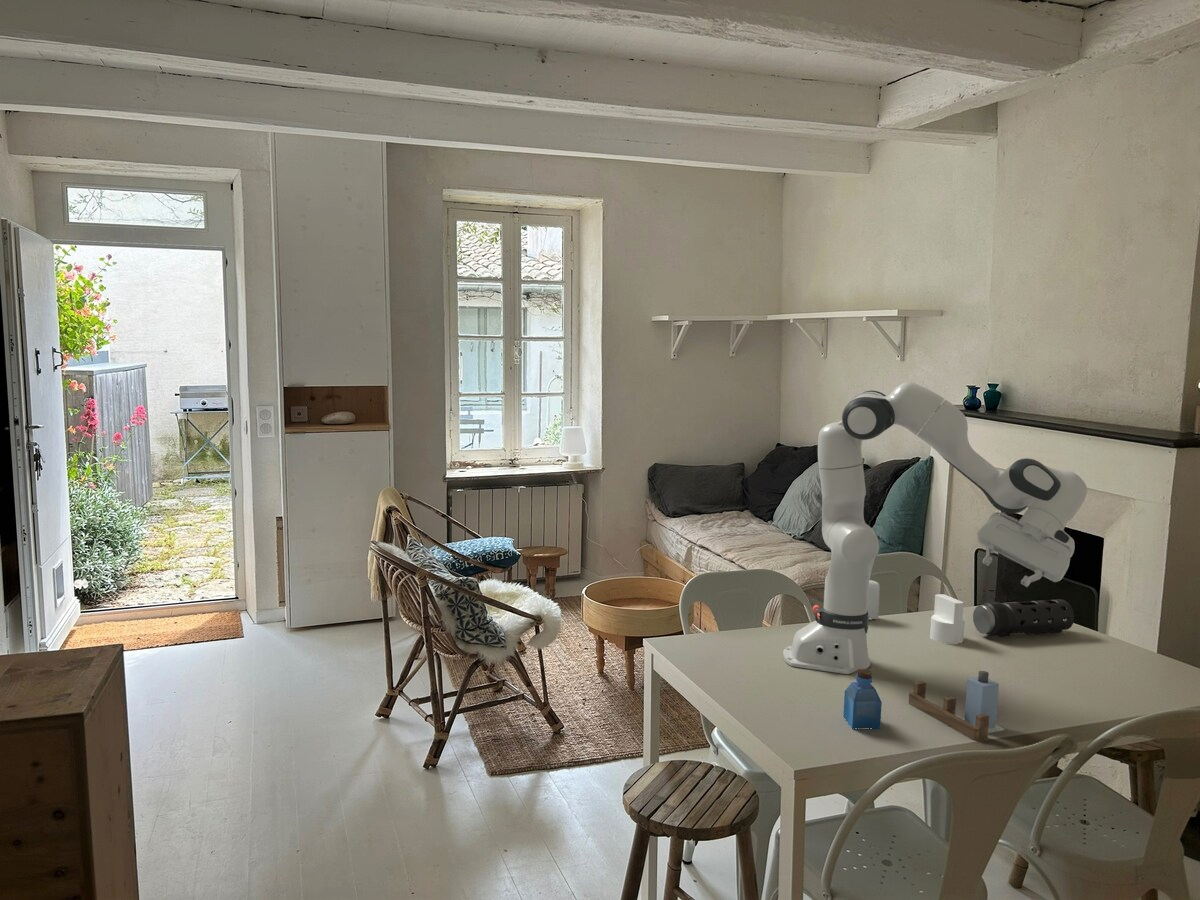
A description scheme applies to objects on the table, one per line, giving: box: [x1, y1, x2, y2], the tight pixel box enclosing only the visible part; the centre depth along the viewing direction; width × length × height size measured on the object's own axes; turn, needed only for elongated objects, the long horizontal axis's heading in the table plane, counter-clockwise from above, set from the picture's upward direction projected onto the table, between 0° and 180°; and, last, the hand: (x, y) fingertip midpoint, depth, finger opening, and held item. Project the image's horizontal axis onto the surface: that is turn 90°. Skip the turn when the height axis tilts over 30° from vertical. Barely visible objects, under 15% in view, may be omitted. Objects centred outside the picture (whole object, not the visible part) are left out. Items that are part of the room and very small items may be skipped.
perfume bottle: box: [842, 668, 883, 730], centre depth 196 cm, size 6×6×12 cm
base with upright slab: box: [929, 593, 966, 645], centre depth 254 cm, size 9×9×12 cm
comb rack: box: [908, 680, 1005, 741], centre depth 200 cm, size 10×21×5 cm, turn 21°
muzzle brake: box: [972, 598, 1075, 638], centre depth 260 cm, size 10×28×10 cm, turn 104°
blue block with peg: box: [963, 670, 1000, 729], centre depth 195 cm, size 4×4×12 cm
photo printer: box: [867, 579, 881, 621], centre depth 271 cm, size 10×4×12 cm, turn 96°
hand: (1004, 573), depth 203 cm, fingers open, 8 cm apart
